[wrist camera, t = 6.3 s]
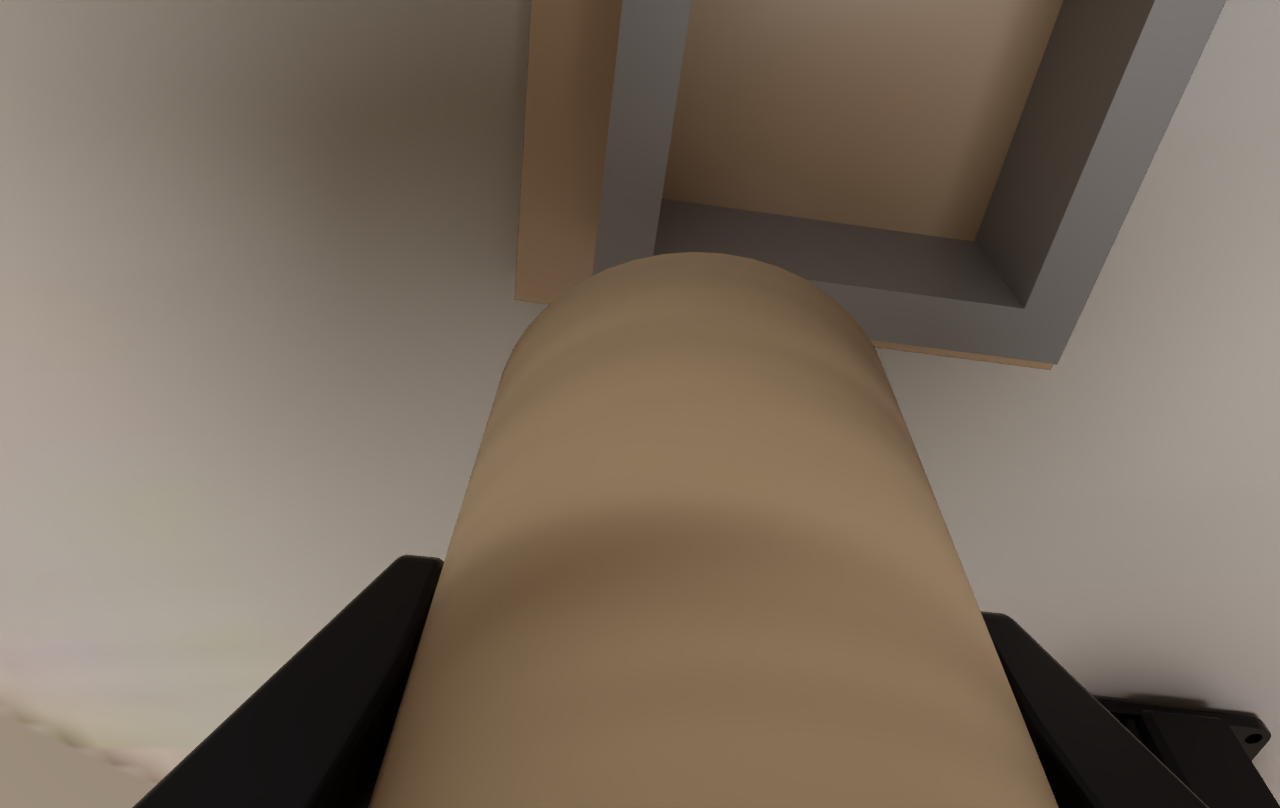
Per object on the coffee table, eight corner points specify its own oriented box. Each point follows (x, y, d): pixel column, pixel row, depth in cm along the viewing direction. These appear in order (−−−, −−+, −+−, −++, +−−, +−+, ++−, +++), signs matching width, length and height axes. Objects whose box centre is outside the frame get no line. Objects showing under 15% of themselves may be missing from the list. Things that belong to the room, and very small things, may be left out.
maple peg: (838, 592, 12) (1091, 1733, 5) (492, 558, 12) (216, 1688, 5) (942, 278, 10) (1855, 1769, 2) (499, 228, 10) (-124, 1670, 2)
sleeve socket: (1032, 343, 20) (1107, 449, 17) (522, 276, 20) (491, 372, 16) (1319, -310, 14) (1541, -359, 10) (566, -440, 13) (527, -539, 10)
